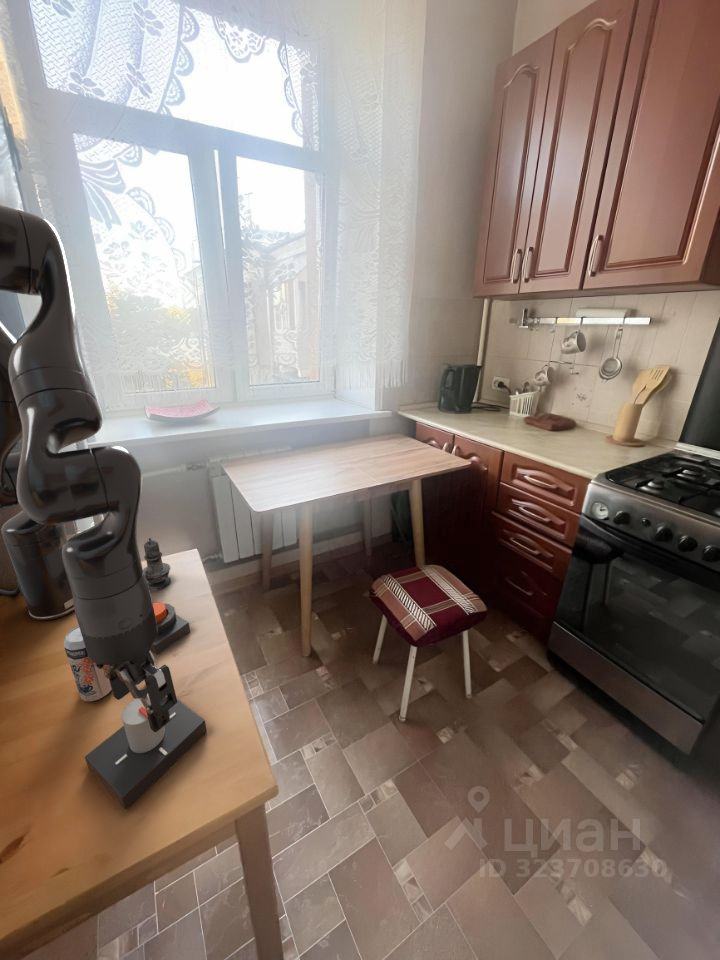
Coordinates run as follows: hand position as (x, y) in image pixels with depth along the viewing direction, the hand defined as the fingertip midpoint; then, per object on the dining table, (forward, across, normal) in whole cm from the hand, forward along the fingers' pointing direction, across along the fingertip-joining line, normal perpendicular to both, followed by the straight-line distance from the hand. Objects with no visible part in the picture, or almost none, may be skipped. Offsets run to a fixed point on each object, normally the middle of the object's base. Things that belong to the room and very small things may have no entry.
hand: (141, 709), depth 52 cm
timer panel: (+8, 0, 0) cm, 8 cm away
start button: (+4, +20, -14) cm, 25 cm away
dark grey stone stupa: (+8, +34, -23) cm, 42 cm away
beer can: (+8, +16, -1) cm, 18 cm away
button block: (+8, +20, -14) cm, 26 cm away
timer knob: (+6, 0, 0) cm, 6 cm away
